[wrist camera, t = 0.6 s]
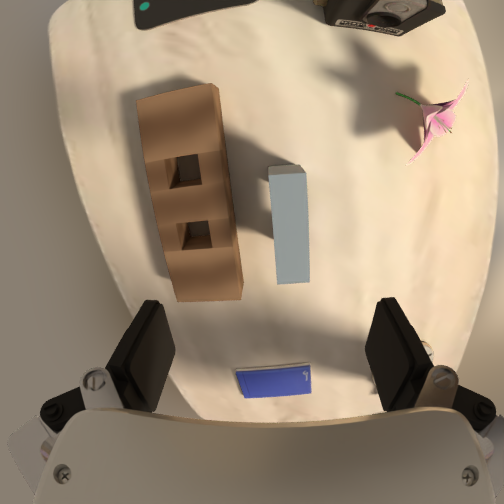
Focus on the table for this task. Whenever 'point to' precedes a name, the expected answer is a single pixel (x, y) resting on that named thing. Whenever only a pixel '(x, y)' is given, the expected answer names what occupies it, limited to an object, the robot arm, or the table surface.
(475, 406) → the robot arm
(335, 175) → the table surface
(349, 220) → the table surface
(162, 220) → the brown block with holes
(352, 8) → the camera
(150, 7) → the smartphone
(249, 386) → the hard drive
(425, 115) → the lily
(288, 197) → the light blue arch block
